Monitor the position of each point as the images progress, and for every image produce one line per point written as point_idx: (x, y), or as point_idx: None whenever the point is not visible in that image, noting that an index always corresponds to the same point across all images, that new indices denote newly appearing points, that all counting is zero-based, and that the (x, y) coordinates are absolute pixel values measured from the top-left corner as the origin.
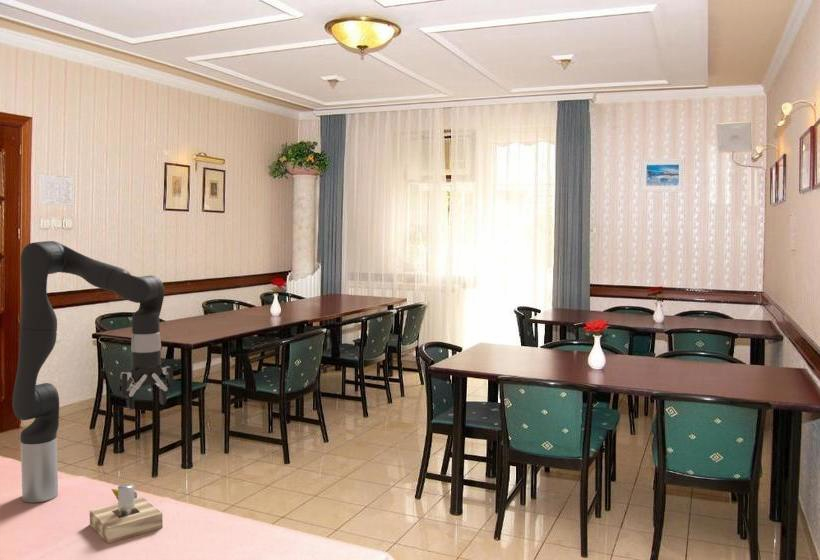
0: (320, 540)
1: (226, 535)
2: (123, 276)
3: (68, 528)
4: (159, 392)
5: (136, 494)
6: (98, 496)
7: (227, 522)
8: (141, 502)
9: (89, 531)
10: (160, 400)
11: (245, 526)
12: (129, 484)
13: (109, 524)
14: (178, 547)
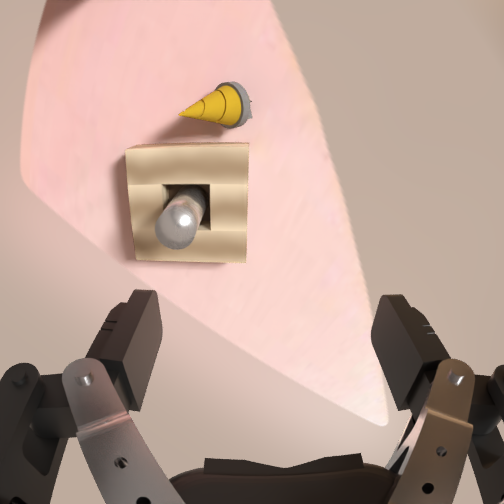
0: (379, 396)
1: (312, 334)
2: None
3: (101, 137)
4: (415, 349)
5: (246, 117)
6: (201, 5)
7: (343, 300)
8: (232, 181)
9: None
10: (386, 321)
11: (352, 326)
12: (186, 223)
13: (142, 246)
14: (235, 326)
